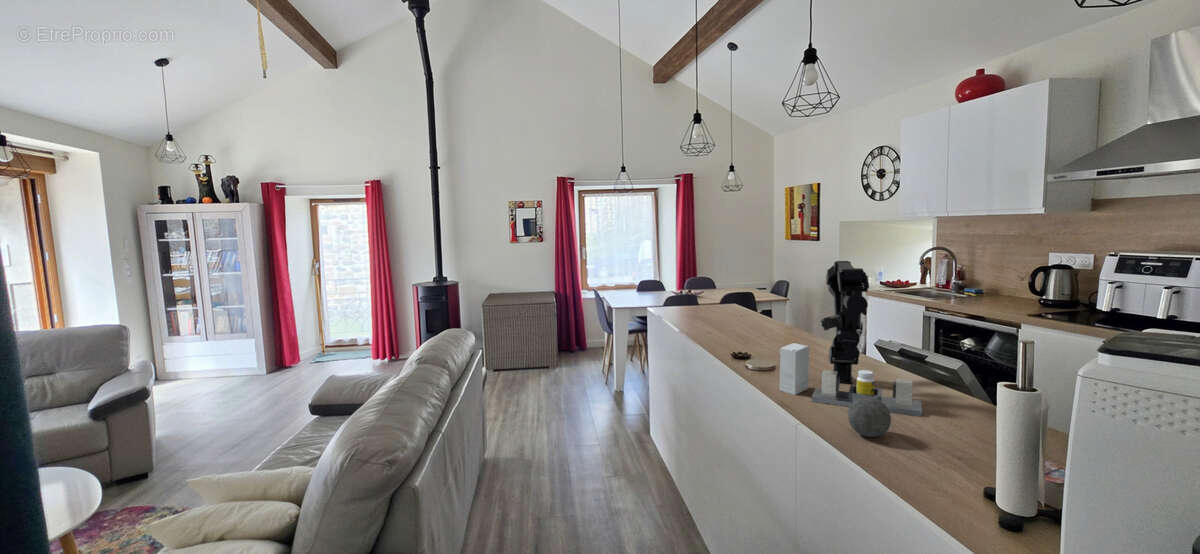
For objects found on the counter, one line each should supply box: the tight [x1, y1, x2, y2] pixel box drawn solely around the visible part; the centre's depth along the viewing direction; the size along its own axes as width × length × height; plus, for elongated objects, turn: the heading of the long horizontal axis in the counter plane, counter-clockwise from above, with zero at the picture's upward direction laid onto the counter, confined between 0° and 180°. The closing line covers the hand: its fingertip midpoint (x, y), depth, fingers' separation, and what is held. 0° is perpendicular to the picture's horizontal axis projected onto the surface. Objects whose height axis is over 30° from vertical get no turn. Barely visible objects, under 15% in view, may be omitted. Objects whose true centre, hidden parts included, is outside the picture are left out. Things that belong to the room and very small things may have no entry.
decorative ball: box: [847, 397, 892, 438], centre depth 136 cm, size 10×10×10 cm
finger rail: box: [811, 369, 923, 417], centre depth 158 cm, size 9×29×8 cm, turn 60°
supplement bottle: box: [856, 369, 875, 395], centre depth 158 cm, size 5×5×8 cm
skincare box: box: [779, 342, 810, 396], centre depth 171 cm, size 8×6×15 cm
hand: (849, 356), depth 166 cm, fingers open, 9 cm apart
